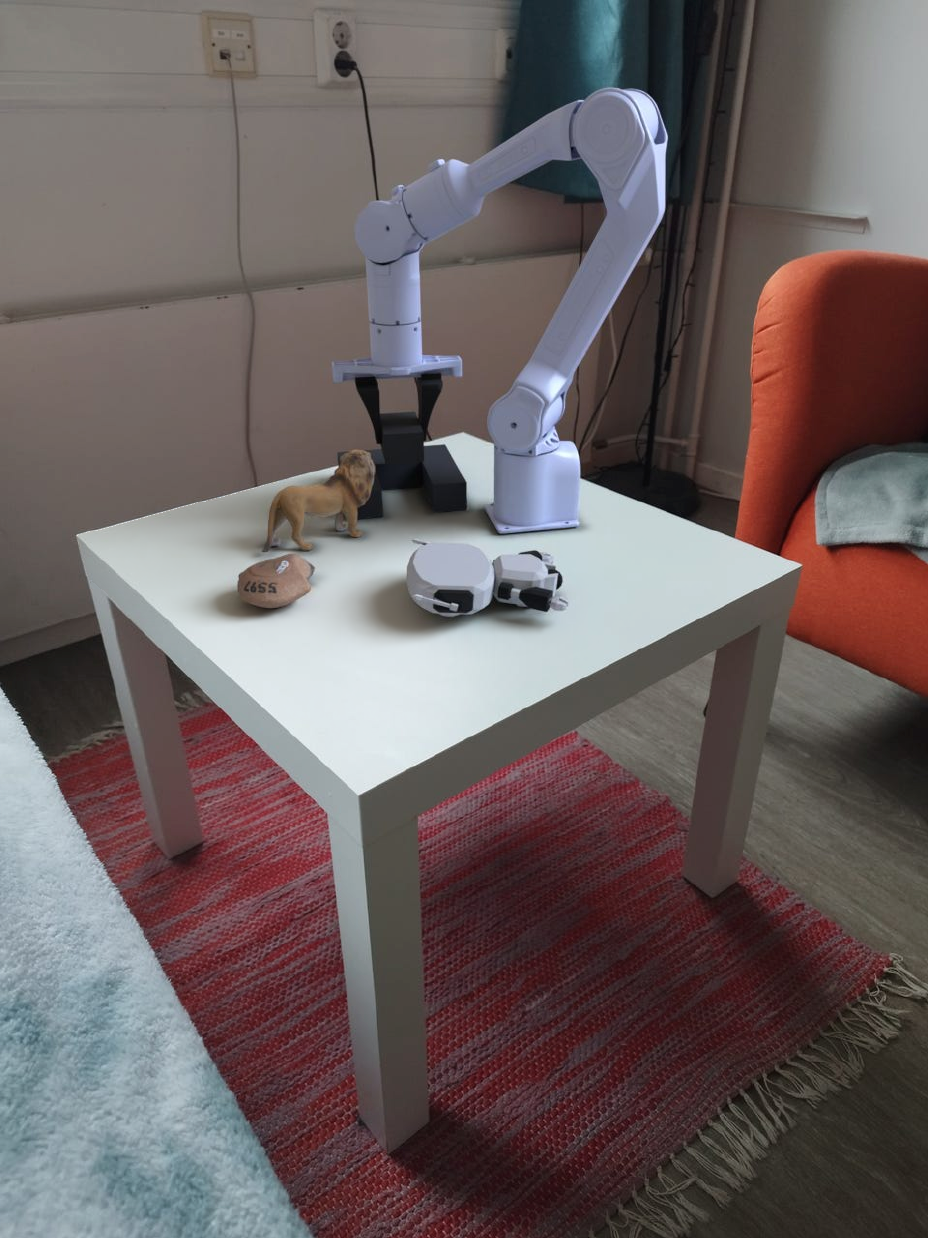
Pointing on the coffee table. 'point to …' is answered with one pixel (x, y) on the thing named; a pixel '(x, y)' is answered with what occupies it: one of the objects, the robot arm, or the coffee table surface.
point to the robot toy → (480, 579)
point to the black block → (401, 438)
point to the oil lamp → (275, 581)
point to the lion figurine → (324, 499)
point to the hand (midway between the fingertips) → (400, 439)
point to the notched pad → (417, 481)
